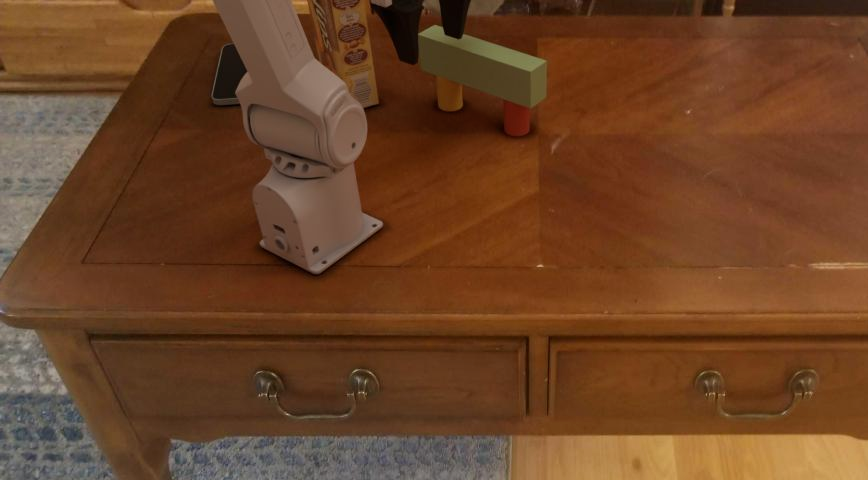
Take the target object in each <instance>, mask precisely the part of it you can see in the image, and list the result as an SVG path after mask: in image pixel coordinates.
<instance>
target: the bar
mask: <svg viewBox="0 0 868 480" xmlns="http://www.w3.org/2000/svg"><path fill="white" fill-rule="evenodd" d="M418 46H419V65H420V66H419V67H420V71H423V72H425V73H428V74H431V75H434V76H436V75H437V76H439V77H442V78H445V79H448V80H451V81H454V82H456V83H459V84H462V86H465V87H468V88H471V89H473V90H475V91H480V92H482V93H485V94H488V95H491V96H494V97H496V98H500V99H502V100H503V99H505V100H508V101H510V102H513V103H516V104H519V105H522V106H525V107H527V108H530V109H532V108H534V107H535V106H537V105H538V104H539V103H540V102H542V101H544V100H545V99H546V98H547V91H548V90H547V89H548V88H547V87H548V86H547V85H548V83H547V82H548V79H547V78H548V61H547V60H546V59H543V58H540V57H536V56H533V55H530V54H528V53H524V52H520V51H518V50H515V49H512V48H508V47H505V46H503V45H500V44H496V43H493V42H490V41H487V40H483V39H480V38H478V37H474V36H471V35H468V34H466V33H463V36H462V38H461V39H459V40H458V39H455V38H452V37H449V36H446V35H445V34H444V30H443V26H440V25H436V24H434V25H432V26H430V27H428V28H426V29H424V30H422V31H421V32H418Z"/></svg>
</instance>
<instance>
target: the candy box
mask: <svg viewBox="0 0 868 480" xmlns="http://www.w3.org/2000/svg"><path fill="white" fill-rule="evenodd" d="M306 1H307V7H308V11H309V16H310V22H311V26H312V31H313V32H312V33H313V36H314V42H315V46H316V51H317V56H318V61H319V62H320V63H321V64H322V65H324V66H325V67H326V68H327V69H329V70H330V71H331V72H333V73H334V74H335V75H336V76H338V77H339V78H340V79H341V80H343V81H344V82H345V83H346V86H347V89H348V91H349V93H350V95H351V96H352V97H353V99H355V100H356V101H358V102H359V103H360V104H361V106H362V107H363V109H365V108H366V109H367V108H369V107H372V106H376V105H379V103H380V99H379V94H378V93H379V92H378V87H377V81H376V80H377V79H376V73H375V66H374V59H373V53H372V47H371V40H370V33H369V32H370V31H369V27H368V25H369V24H368V19H367V18H368V17H367V12H366V5H365V0H306Z"/></svg>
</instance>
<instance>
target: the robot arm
mask: <svg viewBox="0 0 868 480" xmlns="http://www.w3.org/2000/svg"><path fill="white" fill-rule="evenodd" d="M471 2H472V0H438V3H439V10H440V18H441V19H440V20H441V25H442V26H441V27H443V30H444V34H445V35H446V36H449V37H452V38H455V39H458V40H459V39H461V38H462V36H463V34H464V33H465V26H466V22H467V16H468V12H469V8H470V5H471ZM212 3H213V4H214V6H215V8H216V10H217V13H218V14H219V17H220V18H221V21H222V22H223V24H224V26H225V28H226V31H227V32H228V34H229V37H230V39H231V41H232V43H234V45H235V47H236V49H237V51H238V53H239V55H240V57H241V59H242V61H243V63H244V65H245V67H246V69H247V71H248V72H247V73H246V74H245V75H244V76H243V78H242V79H241V81H240V83H239V85H238V87H237V89H236V92H235V94H236V96H237V98H238V100H239V102H240V104H239V105H240V108H241V113H242V123H243V129H244V131H245V134H246V137H247V138H248V139H249V140H250V142H252V143H253V144H254V145H255V146H258V147H261V148H262V149H263V151H264V152H263V153H264V156H265V159H266V160H269V161H270V162H271V163H272V164H271V166H270V168H269V169H268V172H267V173H266V175H265V176H264V177H263V178H262V179H261V180H260V181H259V182H258V183H257V184H256V185H255V186H254V187H253V189H252V193H251V196H252V197H251V198H252V203H253V207H254V210H255V214H256V218H257V221H258V225H259V228H260V232H261V236H262V239H261V240H260V241H259V246H260V248H262V249H264V250H266V251H267V252H270V253H272V254H274V255H276V256H278V257H280V258H282V259H284V260H286V261H288V262H290V263H291V264H294V265H296V266H298V267H300V268H302V269H303V270H305V271H307V272H309V273H311V274H313V275H320V274H321V273H323V272H324V271H325V270H326V269H328V268H330V267H331V266H332V265H333V264H335V263H336V262H338V261H339V260H340V259H342V258H343V257H344V256H345V255H347V254H349V253H350V252H351V251H352V250H354V249H355V248H356V247H358V246H359V245H361V244H362V243H363V242H365V241H366V240H368V239H369V238H370V237H372V235H374V234H376V232H378V231H380V230H381V229H382V228H383V227H384V223H383V221H382V220H381V219H378V218H375V217H373V216H371V215H369V214H366V213H364V212H363V211H362V210H363V209H362V204H361V198H360V192H359V186H358V181H357V175H356V168H355V163H354V162H355V161H356V160H357V159H358V158H359V157H360V155H361V154H362V151H363V149H364V147H365V145H366V141H367V136H368V121H367V115H366V112H365V108H363V107H362V106H361V104H360V103H359V102H358V101H356V100H355V99H353V97H352V96H351V95H350V93H349V91H348V89H347V86H346V83H345V82H344V81H343V80H341V79H340V78H339V77H338V76H336V75H335V74H334V73H333V72H331V71H330V70H329V69H327V68H326V67H325V66H324V65H322V64H321V63H320V62H319V60H318V59H316V58H315V56H314V53H313V50H312V48H311V45H310V43H309V41H308V38H307V36H306V33H305V30H304V28H303V27H302V24H301V20H300V18H299V16H298V13H297V11H296V8H295V5H294V4H293V1H292V0H212ZM369 5H370V7H371V8H372V10H373V11H374V12H375V13H376V14H377V16H378V17H379V19H380V20H381V22H382V24H383V25H384V27H385V29H386V31H387V32H388V34H389V37H390V39H391V41H392V44H393V46H394V49H395V51H396V55H397V58H398V60H399V62H402V63H405V64H408V65H410V66H415V65H416V64H418V63H419V58H420V56H419V46H418V34H419V30H420V29H419V28H420V22H421V18H422V14H423V10H424V5H422V4H419V3H416V2H412V0H369Z"/></svg>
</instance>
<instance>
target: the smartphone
mask: <svg viewBox="0 0 868 480" xmlns="http://www.w3.org/2000/svg"><path fill="white" fill-rule="evenodd" d="M247 72H248V71H247V69H246V67H245V65H244V63H243V61H242V59H241V57H240V55H239V53H238V51H237V49H236V47H235V45H234V43H233V42H232V43H226V44H225V45H223V46H222V47H221V50H220V55H219V60H218V64H217V68H216V73H215V78H214V83H213V86H212V91H211V100H212V103H213V105H216V106H228V105H229V106H230V105H240V102H239V100H238V98H237V96H236V94H235V92H236V89H237V87H238V85H239V83H240V81H241V79H242V78H243V76H244V75H245V74H246V73H247Z"/></svg>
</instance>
